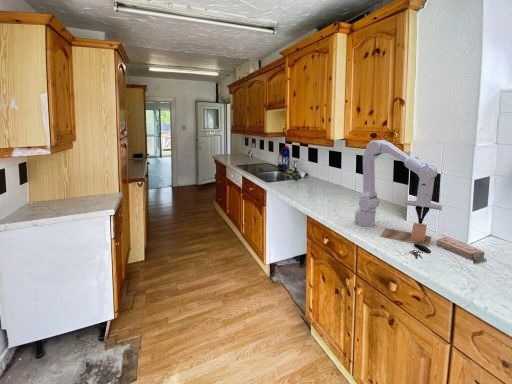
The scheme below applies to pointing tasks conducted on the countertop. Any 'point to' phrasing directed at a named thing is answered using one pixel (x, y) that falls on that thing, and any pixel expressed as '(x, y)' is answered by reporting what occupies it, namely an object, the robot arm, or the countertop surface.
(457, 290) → the countertop surface
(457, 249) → the packaged product
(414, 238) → the orange rectangular block
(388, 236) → the board
